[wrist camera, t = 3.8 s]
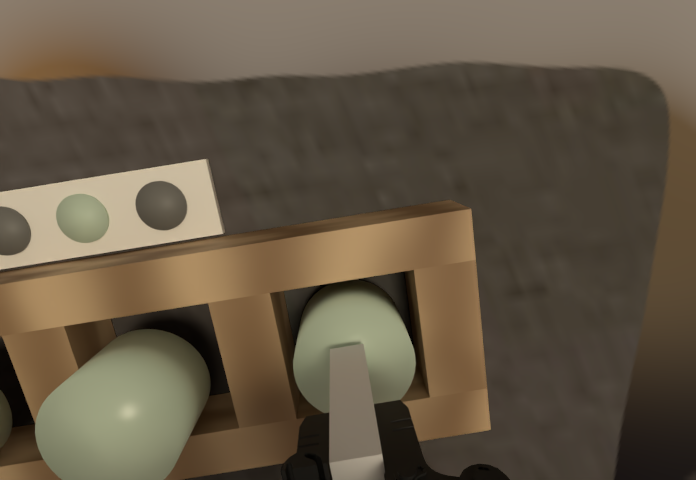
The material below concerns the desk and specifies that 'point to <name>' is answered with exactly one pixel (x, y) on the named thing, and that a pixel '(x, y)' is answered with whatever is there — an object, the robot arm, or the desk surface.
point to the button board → (256, 326)
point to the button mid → (125, 410)
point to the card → (108, 214)
